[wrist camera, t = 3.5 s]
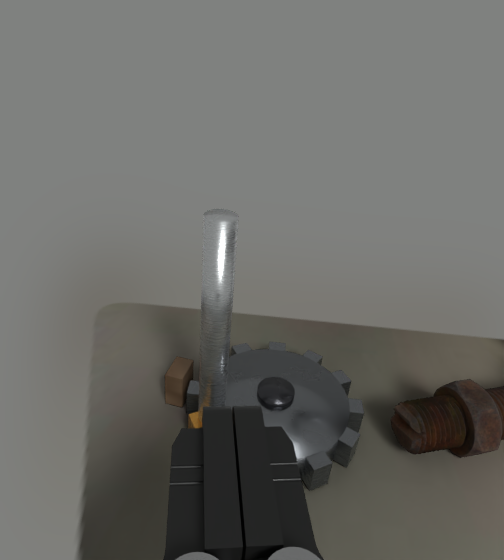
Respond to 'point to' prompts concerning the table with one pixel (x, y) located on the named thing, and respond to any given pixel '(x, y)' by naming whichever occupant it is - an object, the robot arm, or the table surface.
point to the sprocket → (268, 371)
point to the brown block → (178, 381)
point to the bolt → (452, 420)
